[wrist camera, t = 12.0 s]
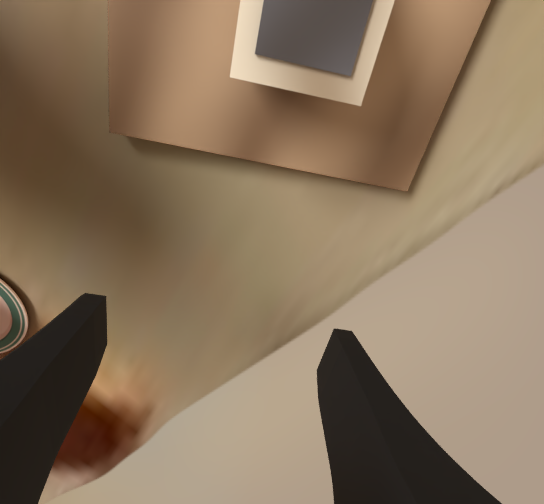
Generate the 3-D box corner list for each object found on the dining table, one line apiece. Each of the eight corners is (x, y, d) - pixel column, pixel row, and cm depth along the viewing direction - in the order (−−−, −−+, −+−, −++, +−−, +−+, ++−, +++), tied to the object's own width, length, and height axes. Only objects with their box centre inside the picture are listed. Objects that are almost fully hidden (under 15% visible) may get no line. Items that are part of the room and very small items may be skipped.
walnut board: (118, 124, 18) (109, 132, 17) (117, -277, 11) (103, -304, 10) (399, 182, 20) (407, 191, 19) (533, -136, 13) (555, -147, 12)
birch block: (237, 56, 15) (229, 78, 11) (259, -90, 13) (259, -137, 9) (334, 78, 16) (361, 107, 11) (371, -58, 13) (424, -87, 9)
